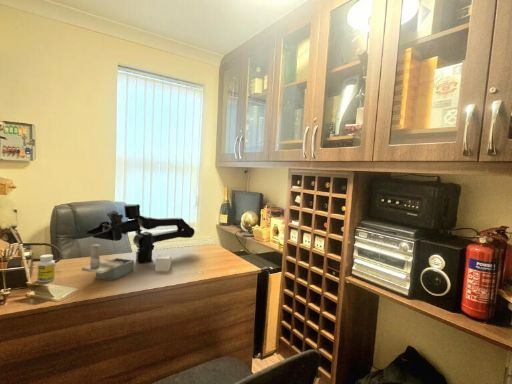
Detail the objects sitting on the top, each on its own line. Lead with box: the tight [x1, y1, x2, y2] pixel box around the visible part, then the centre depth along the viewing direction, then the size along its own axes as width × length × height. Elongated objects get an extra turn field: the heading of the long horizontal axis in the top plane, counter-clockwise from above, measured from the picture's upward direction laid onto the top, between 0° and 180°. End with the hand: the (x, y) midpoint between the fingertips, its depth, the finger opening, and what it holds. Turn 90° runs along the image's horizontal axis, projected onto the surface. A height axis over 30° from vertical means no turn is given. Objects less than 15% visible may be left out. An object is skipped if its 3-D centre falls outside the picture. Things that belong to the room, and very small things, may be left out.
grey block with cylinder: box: [81, 243, 123, 274], centre depth 112 cm, size 12×9×10 cm
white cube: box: [154, 254, 172, 272], centre depth 129 cm, size 6×6×6 cm
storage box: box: [95, 257, 135, 281], centre depth 119 cm, size 12×9×5 cm
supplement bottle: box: [36, 253, 56, 283], centre depth 109 cm, size 5×5×10 cm
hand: (89, 234), depth 120 cm, fingers open, 9 cm apart
